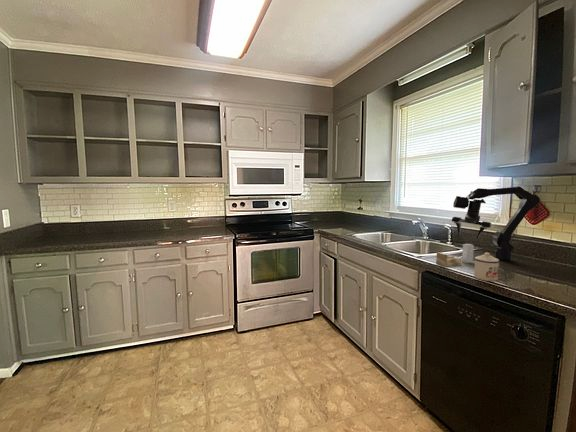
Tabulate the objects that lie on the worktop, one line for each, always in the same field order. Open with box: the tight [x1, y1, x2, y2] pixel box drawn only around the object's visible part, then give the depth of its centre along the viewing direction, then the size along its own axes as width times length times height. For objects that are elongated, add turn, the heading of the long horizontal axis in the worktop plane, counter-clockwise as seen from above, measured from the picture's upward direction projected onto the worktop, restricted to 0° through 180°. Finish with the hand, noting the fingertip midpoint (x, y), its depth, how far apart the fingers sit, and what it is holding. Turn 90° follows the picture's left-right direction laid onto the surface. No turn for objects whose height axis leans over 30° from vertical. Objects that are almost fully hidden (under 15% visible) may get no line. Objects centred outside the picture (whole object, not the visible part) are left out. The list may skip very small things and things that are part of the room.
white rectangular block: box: [461, 243, 475, 264], centre depth 152 cm, size 4×3×10 cm
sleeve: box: [435, 251, 462, 267], centre depth 150 cm, size 10×6×6 cm, turn 103°
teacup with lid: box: [473, 252, 500, 282], centre depth 126 cm, size 12×9×12 cm
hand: (467, 236), depth 162 cm, fingers open, 9 cm apart
